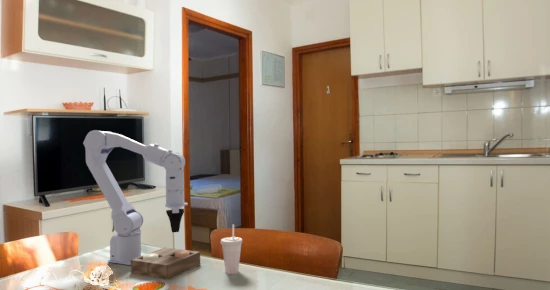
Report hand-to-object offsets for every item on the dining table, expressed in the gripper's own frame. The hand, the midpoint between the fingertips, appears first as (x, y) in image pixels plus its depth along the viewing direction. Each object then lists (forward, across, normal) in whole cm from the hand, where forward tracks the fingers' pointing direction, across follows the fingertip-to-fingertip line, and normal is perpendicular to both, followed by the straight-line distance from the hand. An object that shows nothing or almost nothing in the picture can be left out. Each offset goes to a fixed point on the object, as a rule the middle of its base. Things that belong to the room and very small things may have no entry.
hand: (175, 231), depth 127 cm
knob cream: (+8, -8, +8) cm, 14 cm away
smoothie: (+10, -17, -16) cm, 25 cm away
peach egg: (+8, -8, -2) cm, 12 cm away
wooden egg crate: (+9, -8, +3) cm, 13 cm away
